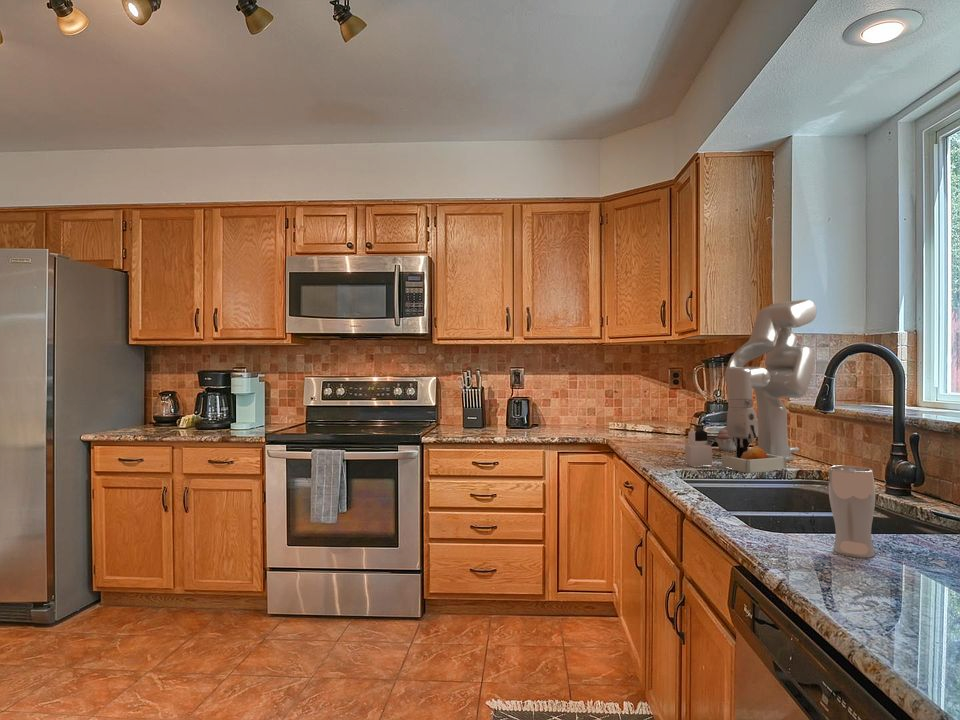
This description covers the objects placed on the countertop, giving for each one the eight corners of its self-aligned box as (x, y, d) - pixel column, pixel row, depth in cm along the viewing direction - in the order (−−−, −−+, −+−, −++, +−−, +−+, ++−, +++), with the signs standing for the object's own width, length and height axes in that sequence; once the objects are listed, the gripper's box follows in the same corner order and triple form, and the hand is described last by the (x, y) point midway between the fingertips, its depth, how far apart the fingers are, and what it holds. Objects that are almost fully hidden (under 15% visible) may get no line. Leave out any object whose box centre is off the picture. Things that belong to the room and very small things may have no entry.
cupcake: (712, 451, 224) (711, 426, 224) (719, 448, 231) (718, 424, 232) (736, 452, 218) (735, 427, 218) (743, 449, 225) (742, 425, 226)
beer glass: (857, 561, 96) (853, 473, 96) (821, 549, 102) (818, 466, 103) (887, 556, 98) (884, 470, 98) (851, 544, 104) (847, 464, 105)
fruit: (775, 467, 177) (759, 445, 178) (751, 479, 179) (736, 457, 181) (773, 463, 184) (759, 442, 186) (751, 474, 187) (737, 453, 189)
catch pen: (759, 464, 192) (758, 452, 192) (786, 469, 180) (786, 457, 180) (721, 467, 188) (721, 455, 188) (747, 473, 176) (747, 460, 176)
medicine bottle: (706, 463, 195) (705, 429, 196) (712, 467, 188) (711, 431, 189) (685, 463, 196) (684, 429, 196) (690, 467, 189) (689, 431, 189)
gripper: (766, 404, 183) (768, 461, 182) (734, 402, 197) (736, 454, 197) (746, 405, 181) (749, 462, 181) (716, 403, 195) (718, 456, 195)
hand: (742, 458), depth 189 cm, fingers closed
